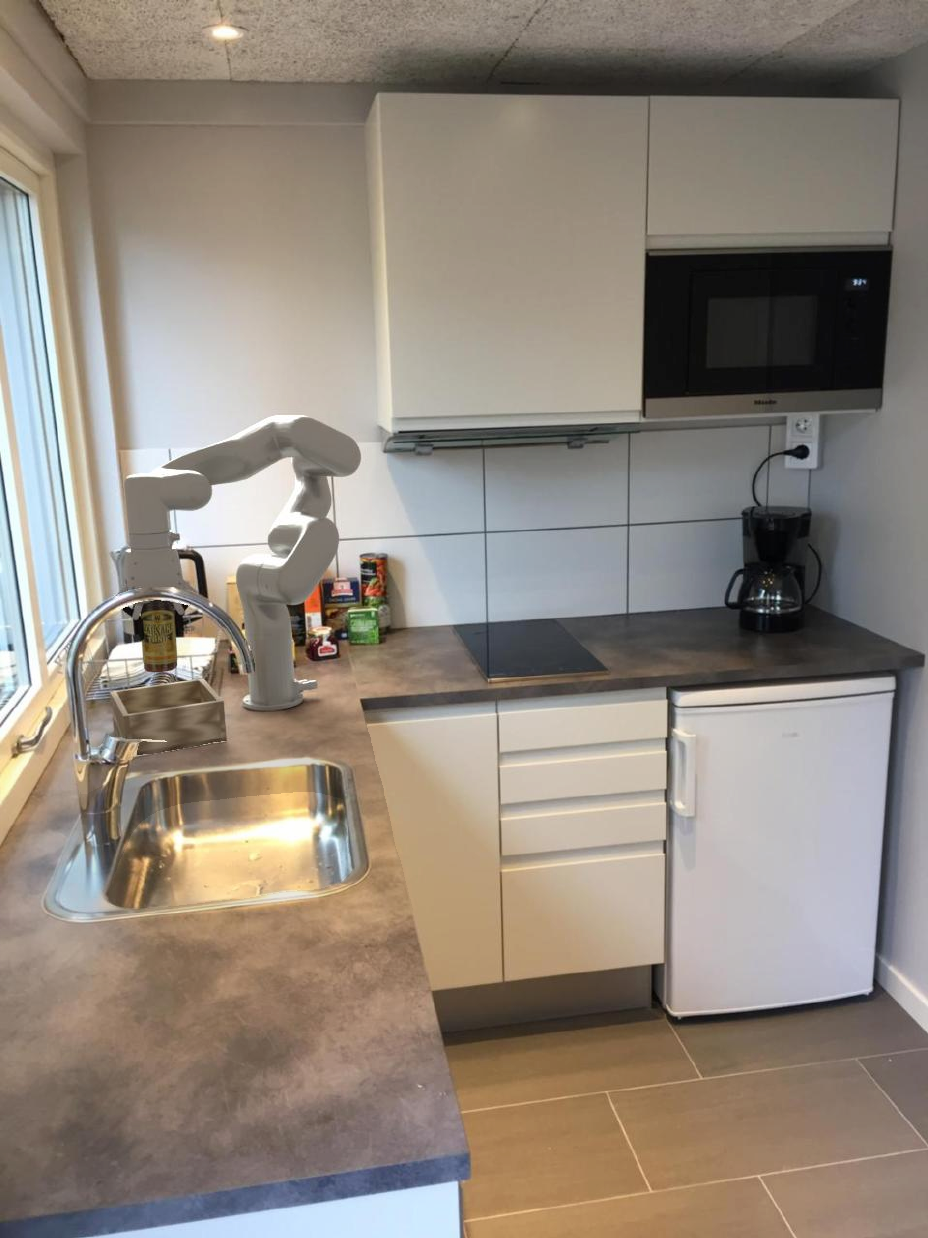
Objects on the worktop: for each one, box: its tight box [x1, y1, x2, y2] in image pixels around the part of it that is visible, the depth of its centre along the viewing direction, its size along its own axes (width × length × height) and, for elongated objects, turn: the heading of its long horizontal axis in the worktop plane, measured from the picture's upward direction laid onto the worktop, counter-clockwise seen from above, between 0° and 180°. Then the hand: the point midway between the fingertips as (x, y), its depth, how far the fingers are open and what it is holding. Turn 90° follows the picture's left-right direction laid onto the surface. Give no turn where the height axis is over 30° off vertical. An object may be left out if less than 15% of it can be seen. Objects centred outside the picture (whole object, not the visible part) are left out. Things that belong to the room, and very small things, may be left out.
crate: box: [109, 678, 228, 755], centre depth 193 cm, size 18×18×8 cm
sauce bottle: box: [140, 600, 178, 673], centre depth 189 cm, size 7×6×20 cm
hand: (159, 635), depth 189 cm, fingers closed on sauce bottle, 6 cm apart
